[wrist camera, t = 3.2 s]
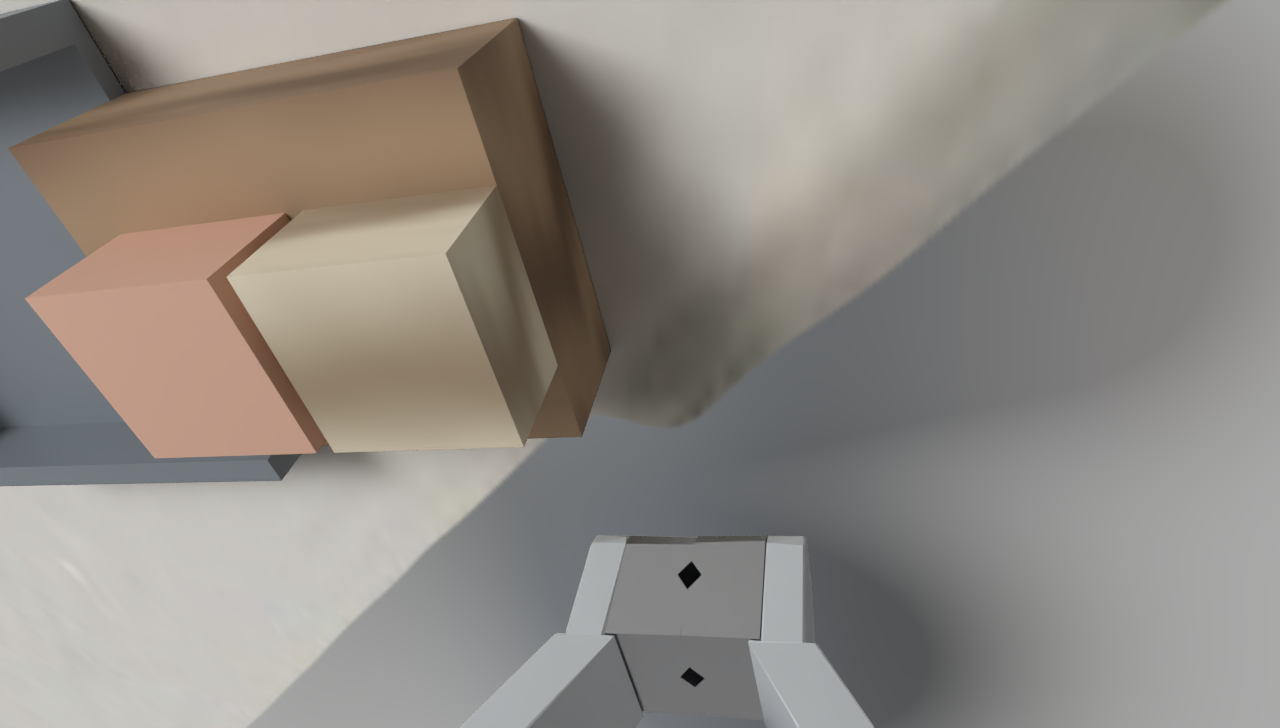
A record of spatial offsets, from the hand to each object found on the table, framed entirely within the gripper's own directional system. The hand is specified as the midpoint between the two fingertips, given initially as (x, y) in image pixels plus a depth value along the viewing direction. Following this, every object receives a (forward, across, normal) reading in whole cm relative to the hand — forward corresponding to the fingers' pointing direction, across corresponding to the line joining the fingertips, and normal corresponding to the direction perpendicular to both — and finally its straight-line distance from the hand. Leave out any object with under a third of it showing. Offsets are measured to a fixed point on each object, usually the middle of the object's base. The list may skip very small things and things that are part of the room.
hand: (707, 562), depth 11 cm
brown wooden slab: (+12, +11, -1) cm, 16 cm away
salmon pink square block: (+8, +13, -1) cm, 15 cm away
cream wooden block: (+8, +8, -1) cm, 11 cm away
